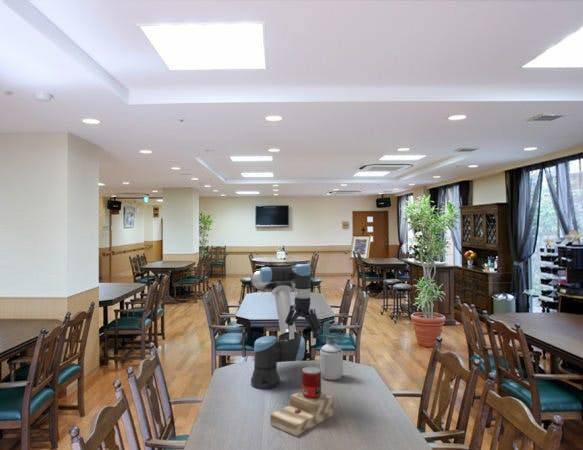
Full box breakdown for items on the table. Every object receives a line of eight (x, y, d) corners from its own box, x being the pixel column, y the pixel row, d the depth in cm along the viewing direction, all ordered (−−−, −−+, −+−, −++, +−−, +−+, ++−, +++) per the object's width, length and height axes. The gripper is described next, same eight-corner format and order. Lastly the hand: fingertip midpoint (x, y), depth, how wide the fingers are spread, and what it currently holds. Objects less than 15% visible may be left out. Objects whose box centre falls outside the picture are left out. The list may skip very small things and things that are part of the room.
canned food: (319, 399, 168) (319, 373, 168) (300, 398, 170) (300, 371, 170) (322, 392, 176) (321, 367, 176) (304, 390, 177) (303, 365, 177)
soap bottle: (334, 383, 208) (334, 322, 208) (315, 377, 216) (315, 319, 216) (347, 376, 217) (347, 318, 217) (328, 371, 225) (328, 315, 225)
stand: (296, 436, 155) (296, 414, 155) (270, 424, 164) (270, 403, 164) (333, 414, 172) (333, 395, 172) (308, 405, 182) (308, 386, 182)
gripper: (278, 294, 196) (277, 338, 196) (318, 301, 179) (317, 349, 179) (288, 292, 202) (288, 335, 202) (328, 299, 185) (328, 345, 185)
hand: (302, 341), depth 190 cm, fingers open, 13 cm apart
